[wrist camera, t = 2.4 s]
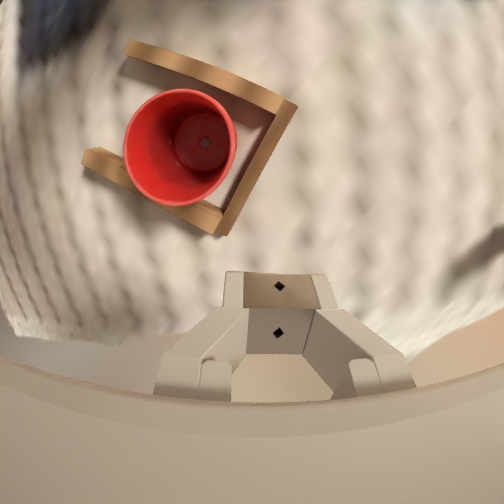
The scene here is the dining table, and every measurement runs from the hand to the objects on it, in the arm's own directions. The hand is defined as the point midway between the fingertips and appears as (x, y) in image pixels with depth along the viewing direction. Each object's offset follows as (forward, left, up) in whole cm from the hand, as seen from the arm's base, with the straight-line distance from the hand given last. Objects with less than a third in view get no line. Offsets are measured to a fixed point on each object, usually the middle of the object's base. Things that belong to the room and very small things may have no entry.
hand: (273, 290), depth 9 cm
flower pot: (-3, -10, -26) cm, 28 cm away
